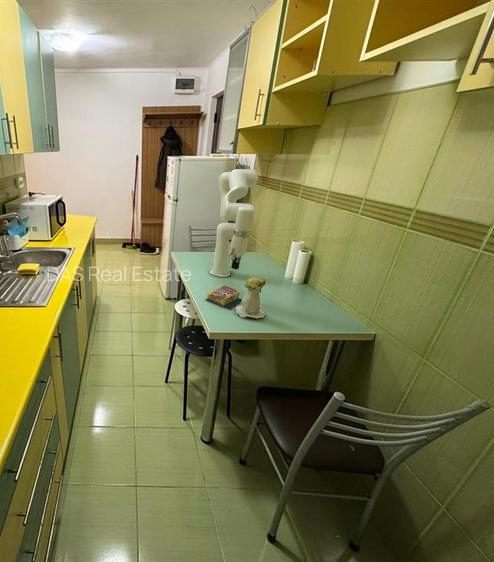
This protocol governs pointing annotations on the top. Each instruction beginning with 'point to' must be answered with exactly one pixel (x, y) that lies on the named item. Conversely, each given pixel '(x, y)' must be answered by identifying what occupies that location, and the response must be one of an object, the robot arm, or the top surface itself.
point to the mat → (231, 304)
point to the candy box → (223, 295)
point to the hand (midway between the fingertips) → (234, 268)
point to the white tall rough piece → (252, 299)
